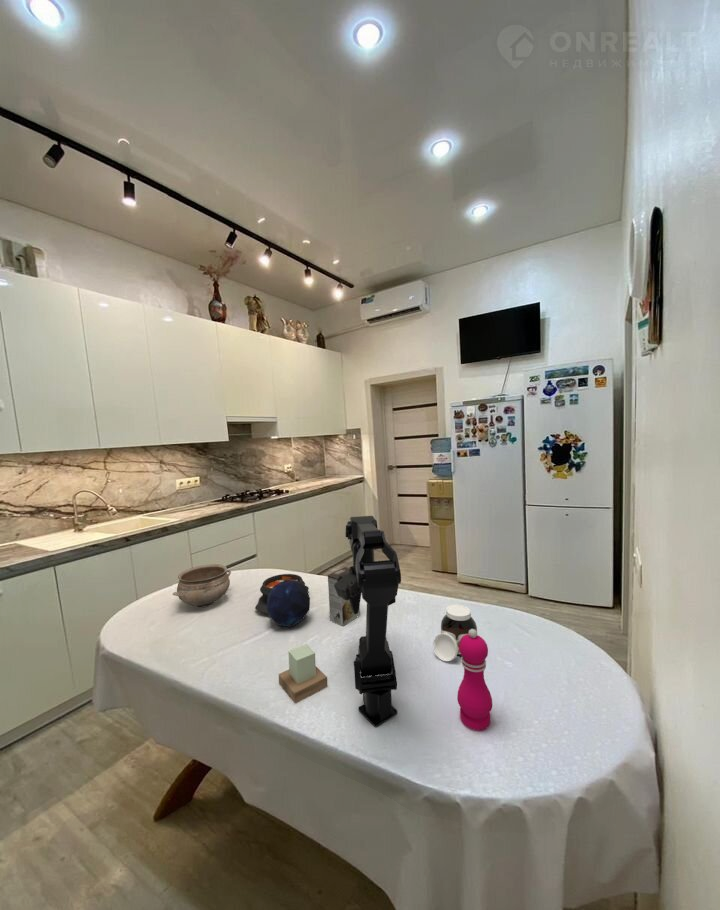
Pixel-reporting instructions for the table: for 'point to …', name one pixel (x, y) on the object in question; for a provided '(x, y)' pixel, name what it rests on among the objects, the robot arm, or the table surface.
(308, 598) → the decorative orb
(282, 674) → the walnut block
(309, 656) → the sage cube
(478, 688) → the pepper mill
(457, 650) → the spread jar
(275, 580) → the casserole
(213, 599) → the cooking pot
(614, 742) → the table surface
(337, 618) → the coffee box
